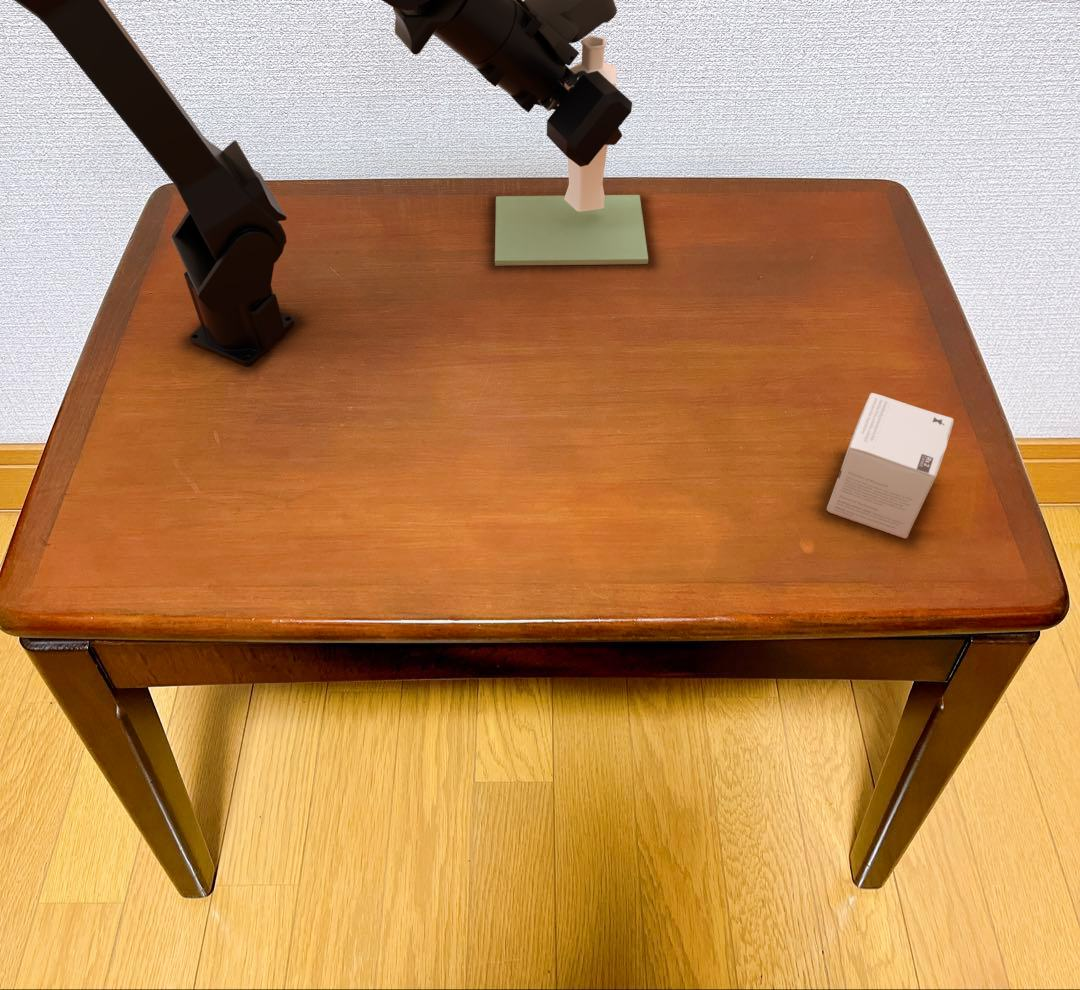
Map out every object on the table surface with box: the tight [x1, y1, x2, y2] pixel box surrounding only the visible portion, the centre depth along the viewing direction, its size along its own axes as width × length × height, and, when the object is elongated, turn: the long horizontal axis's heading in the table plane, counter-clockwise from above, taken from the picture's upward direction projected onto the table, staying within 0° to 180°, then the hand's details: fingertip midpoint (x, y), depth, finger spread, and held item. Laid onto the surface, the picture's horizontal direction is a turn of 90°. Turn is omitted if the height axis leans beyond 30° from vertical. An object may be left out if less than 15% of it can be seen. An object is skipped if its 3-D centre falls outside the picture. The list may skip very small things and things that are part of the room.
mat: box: [494, 194, 649, 267], centre depth 96 cm, size 14×10×1 cm
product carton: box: [826, 392, 955, 539], centre depth 72 cm, size 6×6×7 cm
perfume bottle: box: [564, 34, 618, 212], centre depth 89 cm, size 5×4×15 cm
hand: (604, 126), depth 89 cm, fingers closed on perfume bottle, 4 cm apart
